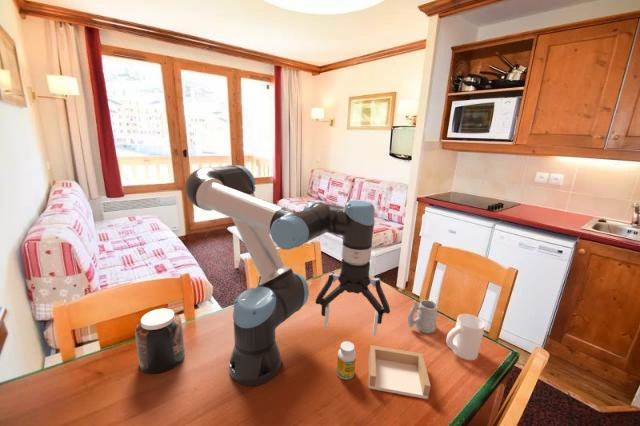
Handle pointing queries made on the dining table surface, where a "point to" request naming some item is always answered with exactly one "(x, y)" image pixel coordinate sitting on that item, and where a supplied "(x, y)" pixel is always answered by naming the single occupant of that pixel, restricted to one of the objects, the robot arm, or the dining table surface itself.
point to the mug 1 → (424, 316)
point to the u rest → (398, 372)
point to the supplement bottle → (346, 360)
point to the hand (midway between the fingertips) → (350, 328)
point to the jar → (159, 341)
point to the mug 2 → (466, 336)
